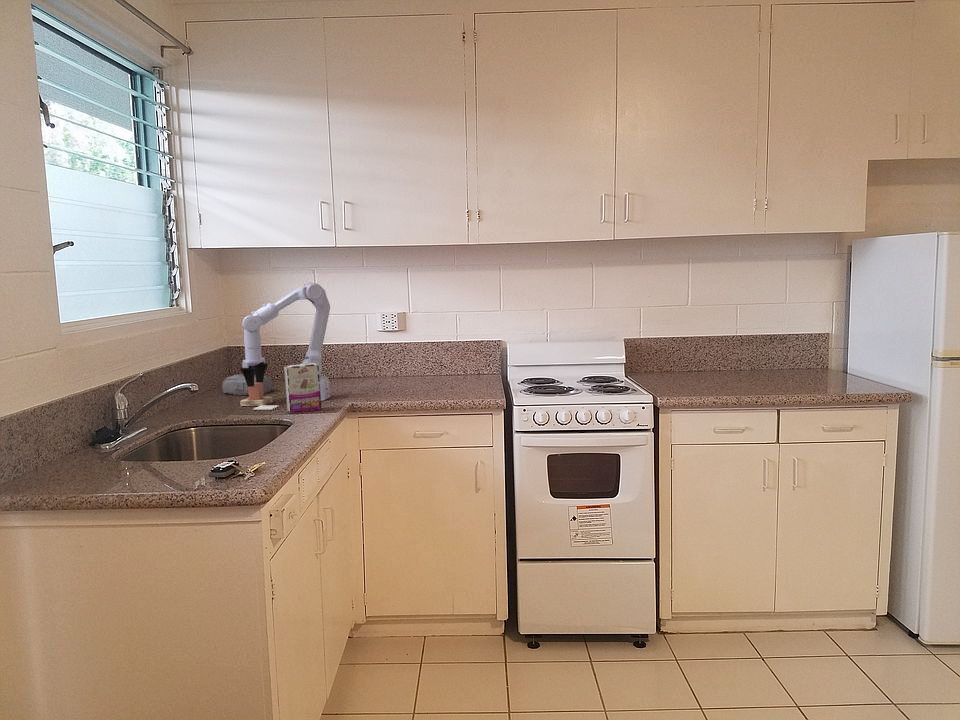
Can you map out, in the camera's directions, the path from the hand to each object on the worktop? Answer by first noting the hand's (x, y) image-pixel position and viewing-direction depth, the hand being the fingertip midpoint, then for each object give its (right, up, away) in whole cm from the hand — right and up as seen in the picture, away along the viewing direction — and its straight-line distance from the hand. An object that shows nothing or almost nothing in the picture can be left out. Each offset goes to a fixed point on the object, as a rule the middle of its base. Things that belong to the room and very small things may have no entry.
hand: (255, 384), depth 266 cm
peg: (0, -7, +1) cm, 8 cm away
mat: (+6, -8, -8) cm, 13 cm away
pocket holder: (0, -7, +1) cm, 7 cm away
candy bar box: (+21, -9, -13) cm, 26 cm away
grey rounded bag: (-13, -5, +28) cm, 31 cm away
